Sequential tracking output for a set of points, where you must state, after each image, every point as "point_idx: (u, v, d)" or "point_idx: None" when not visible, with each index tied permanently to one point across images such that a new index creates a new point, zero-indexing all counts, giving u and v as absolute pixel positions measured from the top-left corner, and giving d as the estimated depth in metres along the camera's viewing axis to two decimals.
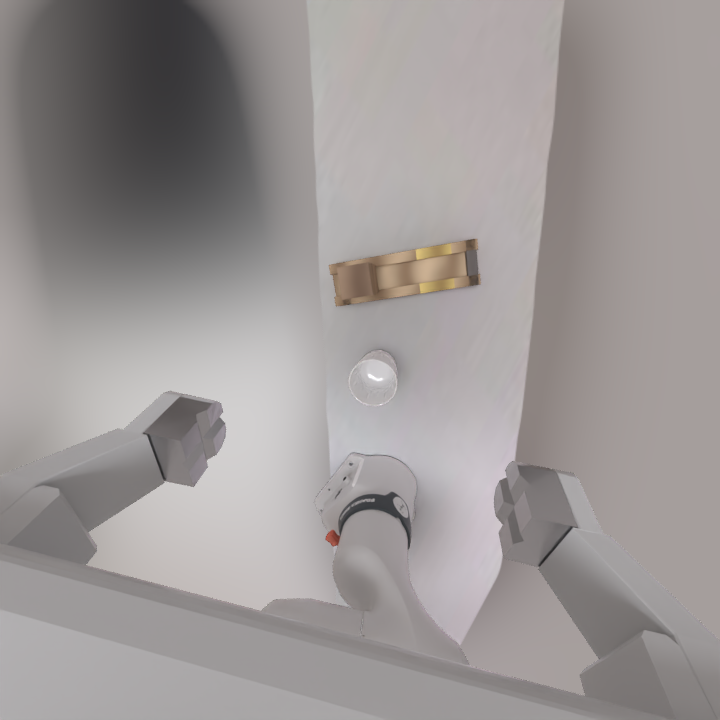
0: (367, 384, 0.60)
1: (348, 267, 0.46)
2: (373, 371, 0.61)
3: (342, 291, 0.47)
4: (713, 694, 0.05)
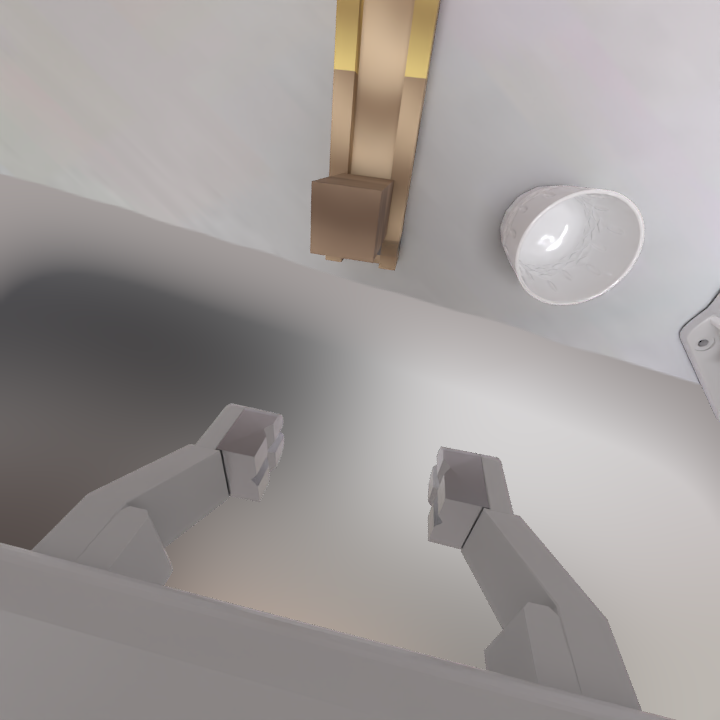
0: (561, 259, 0.30)
1: (314, 228, 0.22)
2: (542, 238, 0.30)
3: (357, 256, 0.23)
4: (581, 661, 0.05)
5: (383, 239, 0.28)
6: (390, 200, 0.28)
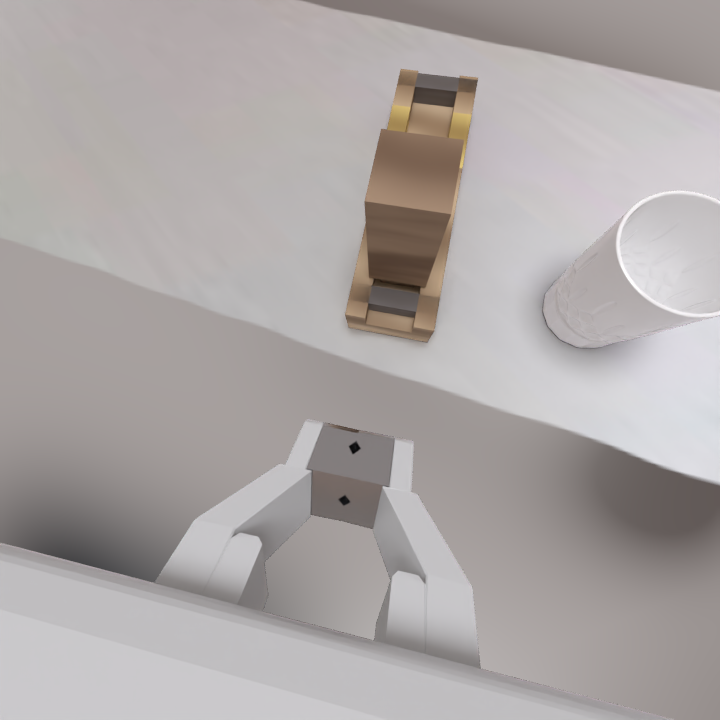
0: None
1: (375, 173, 0.17)
2: None
3: (429, 206, 0.17)
4: (434, 623, 0.05)
5: (432, 267, 0.23)
6: None
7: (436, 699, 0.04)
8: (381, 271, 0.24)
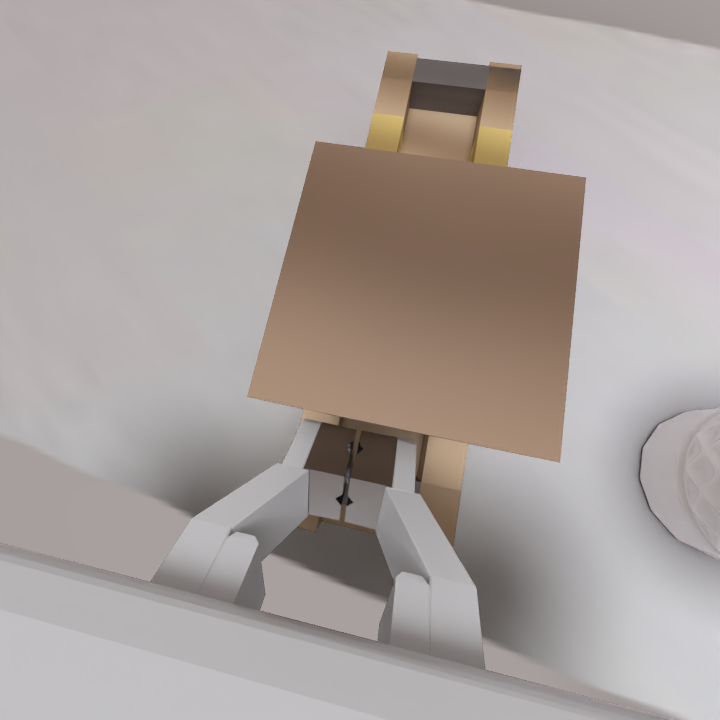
0: None
1: (290, 294, 0.05)
2: None
3: (477, 425, 0.05)
4: (438, 625, 0.05)
5: None
6: None
7: (436, 699, 0.04)
8: None
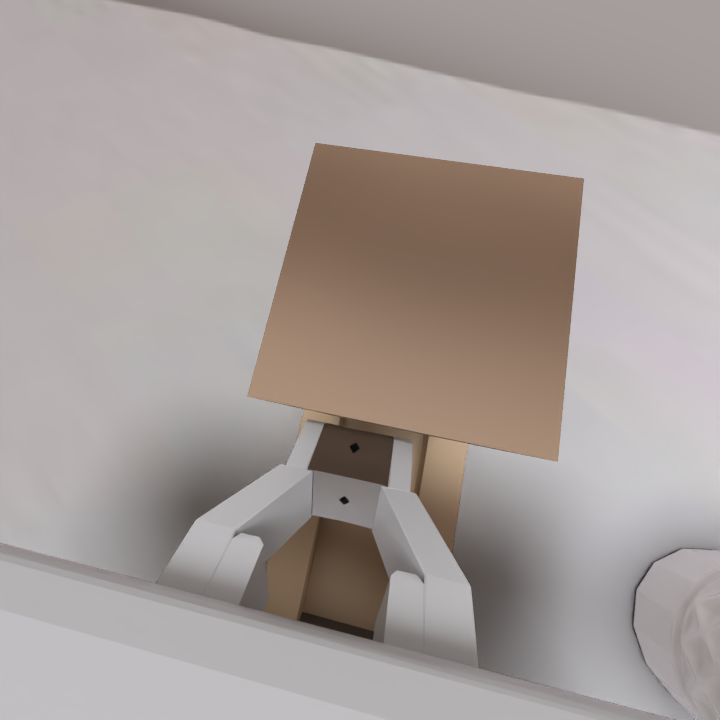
0: None
1: (290, 294, 0.05)
2: None
3: (475, 424, 0.05)
4: (432, 623, 0.05)
5: None
6: None
7: (436, 699, 0.04)
8: (352, 419, 0.12)
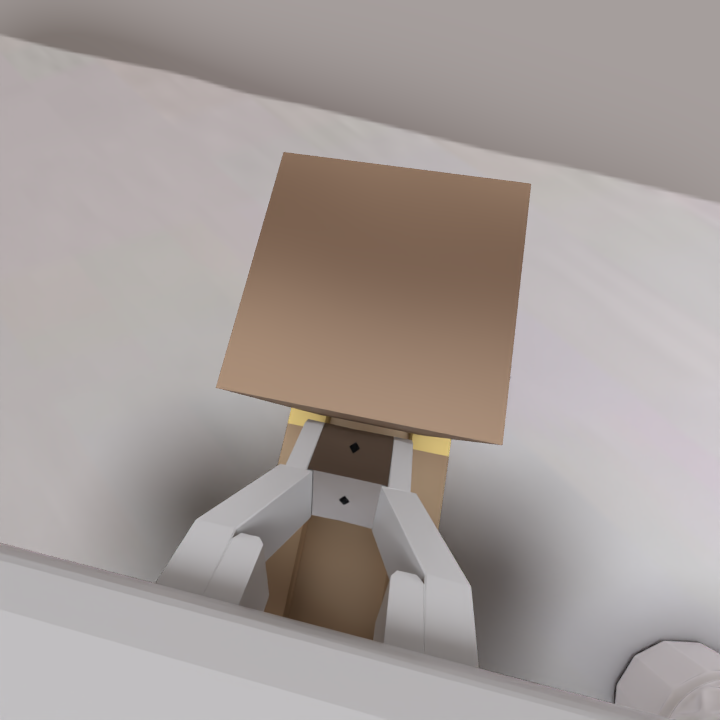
0: None
1: (257, 293, 0.06)
2: None
3: (427, 411, 0.05)
4: (432, 623, 0.05)
5: None
6: None
7: (436, 699, 0.04)
8: (336, 417, 0.13)
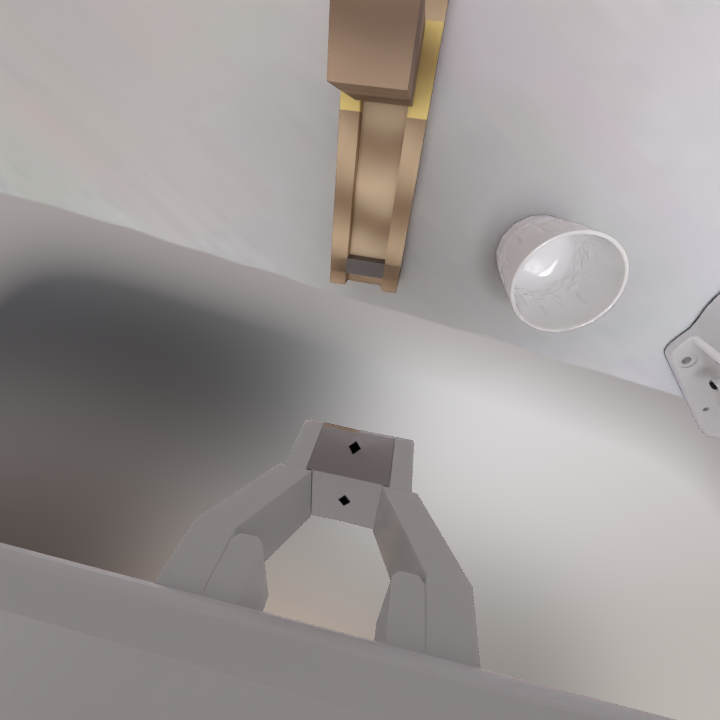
0: (554, 284, 0.31)
1: (333, 39, 0.17)
2: (535, 264, 0.32)
3: (387, 81, 0.18)
4: (434, 623, 0.05)
5: (412, 99, 0.23)
6: (420, 50, 0.23)
7: (436, 699, 0.04)
8: (365, 99, 0.24)
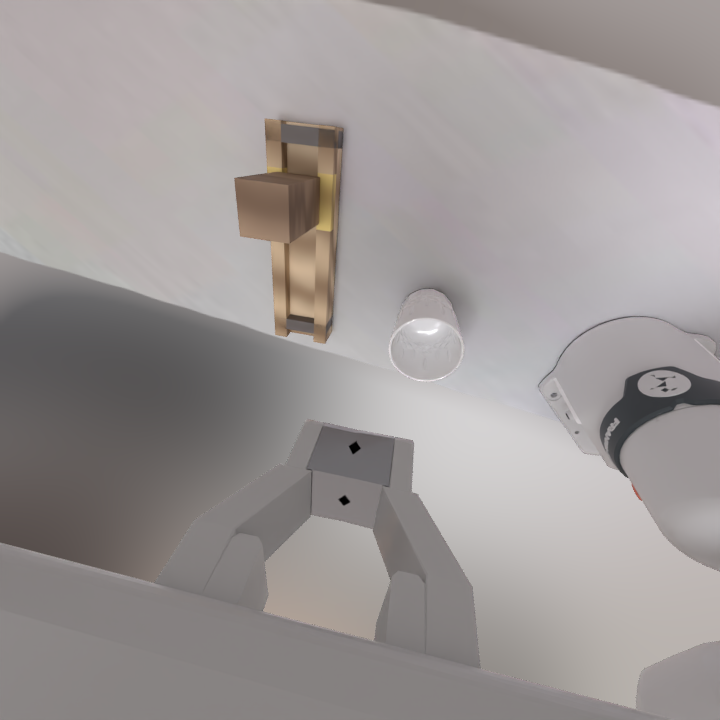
0: (439, 340, 0.42)
1: (240, 216, 0.28)
2: (427, 324, 0.42)
3: (276, 238, 0.28)
4: (434, 623, 0.05)
5: (311, 227, 0.33)
6: (316, 194, 0.33)
7: (436, 699, 0.04)
8: None
